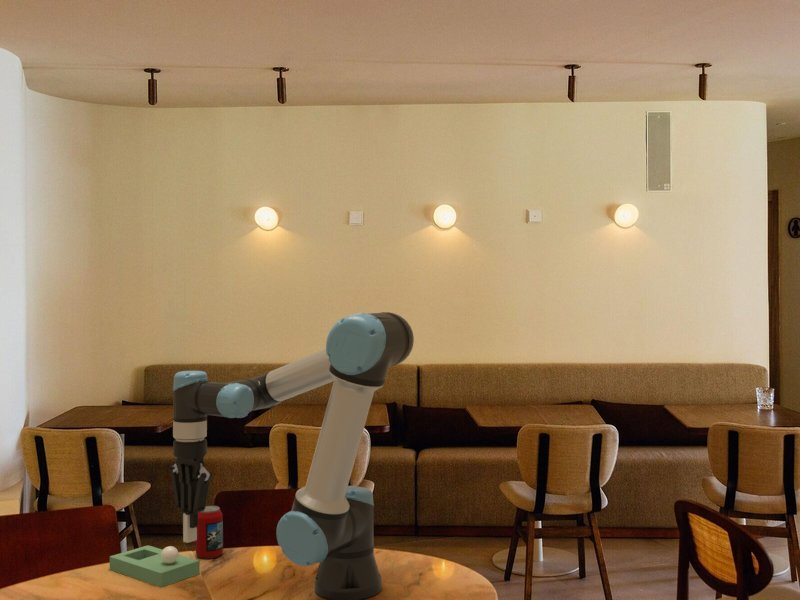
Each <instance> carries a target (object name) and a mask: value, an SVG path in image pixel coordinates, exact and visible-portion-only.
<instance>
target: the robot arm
mask: <svg viewBox="0 0 800 600" xmlns="http://www.w3.org/2000/svg"><path fill="white" fill-rule="evenodd" d="M414 341H415V338H414V332H413V329H412V327H411V325H410V323H409V322H408V320H406V319H405V318H403V317H402V316H401V315H399V314H397V313H394V312H385V311H382V312H372V313H366V312H361V313H360V312H359V313H354V314H350V315H347V316H345V317H343V318H341V319H339V320H338V321H337V322H336V323H334V324H333V326H332V328H331V329H330V331H329V332H328V334H327V337H326V341H325V348H324V349H321V350H319V351H317V352H314V353H311V354H309V355H307V356H304V357H302V358H300V359H297V360H294V361H293V362H290V363H287V364H285V365H283V366H280V367H278V368H276V369H272V370H270V371H268V372H266V373H263V374H260V375H258V376H255V377H252V378H246V379H240V380H232V381H227V382H226V381H225V382H220V381H219V382H218V381H209V379H208V374H207V372H206V371H203V370H183V371H182V370H181V371H178V372H176V373H175V374H174V376H173V385H172V398H173V399H172V400H173V402H172V403H173V421H172V423H173V424H172V437H173V438H174V440H173V447H172V449H173V450H172V454H173V456H174V457H175V458H176V460H175V463H174V464H172V465H170V466H168V472H169V474H170V477H171V482H172V484H171V485H172V490H173V496H174V503H175V508H176V509H179V510H180V512H181V513H182V515H181V516H182V517H181V519H182V521H181V522H182V523H181V524H182V527H183V528H182V535H183V538H182V542H183V543H186V544H187V543H191V542H192V543H193V542H196V540H197V527H198V513H199V512H201V511H204V510H205V506H207V505H206V504H207V498H208V491H209V487H210V482H211V479H212V477H213V472H212V471H208V470H207V469H206V467H205V466H206V465H205V461H204V457H206V455H208V440H207V438H206V437H208V435H207V434H208V432H207V431H208V416H215V417H222V418H223V417H224V418H228V419H242V418H245V417H247V416H248V414H249V413H251V412H252V411H257V410H263V409H269V408H270V409H271V408H272V407H274V406H277V405H279V404H280V403H281V402H283V401H285V400H289V399H291V398H294V397H296V396H298V395H301V394H304V393H307V392H309V391H312V390H314V389H317V388H320V387H323V386H325V385H327V384H330V383H332V382H333V383H332V387H331V389H330V395H329V397H328V402H327V405H326V408H325V412H324V416H323V420H322V424H321V428H320V431H319V434H318V438H317V441H316V446H315V450H314V453H313V457H312V461H311V464H310V469H309V471H308V476H307V479H306V483H305V486H303V487H301V488H299V489H298V490H297V491H296V493H295V497H294V498H293V499H294V500H293V503H292V506H291V510H290V511H288V512H286V513H284V515H283V516H281V518H280V520H278V523H277V524H276V525H277V526H276V530H275V531H276V540H277V544H278V546H279V547H280V548H281V552H282V553H283V555H284V556H285V557H286V558H287V559H288V560H289V561H290V562H292V563H294V564H296V565H298V566H301V567H309V566H313V565H316V564H318V568H317V572H316V575H315V578H314V592H315V594H317V595H318V596H319V597H322V598H323V599H328V600H365V599H368V598H372V597H374V596H376V595H378V594H379V593H380V592H381V591H382V588H383V587H382V586H383V585H382V584H383V582H382V581H383V580H382V576H381V573H380V572H379V568H378V564H377V561H376V557H375V554H374V553H375V552H374V549H375V548H374V544H375V543H374V542H375V541H374V539H375V537H374V535H375V534H374V533H375V532H374V531H375V529H374V526H375V525H374V524H375V522H374V520H375V519H374V514H375V513H374V512H375V511H374V509H375V504H374V494H373V492H372V490H371V489H369V488H367V487H363V486H358V485H349V483H350V480H351V476H352V472H353V470H354V465H355V463H356V462H355V461H356V459H357V454H358V451H359V447H360V444H361V440H362V436H363V433H364V430H365V426H366V423H367V418H368V415H369V412H370V408H371V405H372V401H373V397H374V394H375V392H376V391H377V390H380V389H381V388H383V387H384V385H385V382H386V379H387V375H388V372H389V368H391V367H395V366H397V365H400V364H402V363H403V362H404V361H405V360H407V358H408V357H409V356H410V354H411V352H412V351H413V348H414Z"/></svg>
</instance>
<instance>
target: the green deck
mask: <svg viewBox="0 0 800 600" xmlns="http://www.w3.org/2000/svg"><path fill="white" fill-rule="evenodd" d="M162 551H163V549H162V548H158V547H155V546H152V545H144V546H140V547H138V548H134V549H131V550H128V551H124V552H120V553H117V554H113V555H109V571H112V572H116V573H119V574H121V575H125V576H128V577H130V578H133V579H135V580H139V581H142V582H144V583H148V584H151V585H153V586H156V587H160V588H163V587H167V586H169V585H172V584H175V583H177V582H180V581H184V580H187V579H190V578H192V577H195V576H198V575H200V572H201V571H200V568H201V567H200V566H201V564H200V560H198V559H196V558H192V557H188V556H186V555H183V554H179V555H178V559H177V560H176V561H175V562H174V563H172V564H167V563H164V562H163V561H162V559H161V553H162Z"/></svg>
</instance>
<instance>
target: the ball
mask: <svg viewBox="0 0 800 600" xmlns="http://www.w3.org/2000/svg"><path fill="white" fill-rule="evenodd" d="M162 550H163V551H162V553H161V559H162V561H163V562H164V563H167V564H172V563H174V562H175V561H176V560H177V559H178V555H180V554H179V550H178V549H177V548H176V547H175V546H172V545H170V546H166V547H164V548H163V549H162Z"/></svg>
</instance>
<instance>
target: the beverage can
mask: <svg viewBox="0 0 800 600" xmlns="http://www.w3.org/2000/svg"><path fill="white" fill-rule="evenodd" d="M223 519H224V518H223V512H222V510H221V508H220V506H218V505H205V510H204V511H201V512H199V513H198V527H197V540H195V555H196V556H198V557H199V558H202V559H209V560H210V559H215V558H217V557H219V556H220V555H221V554H223V552H224V532H223V531H224V529H223V526H224V525H223V524H224V523H223V522H224V521H223Z"/></svg>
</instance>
